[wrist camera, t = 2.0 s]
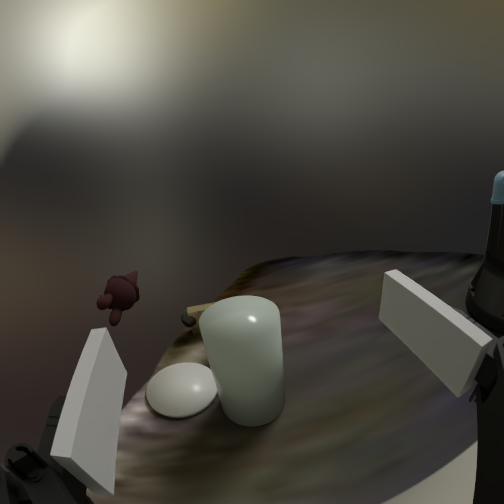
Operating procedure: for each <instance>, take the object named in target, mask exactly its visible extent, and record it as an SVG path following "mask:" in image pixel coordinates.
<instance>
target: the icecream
mask: <svg viewBox="0 0 504 504" xmlns="http://www.w3.org/2000/svg"><path fill="white" fill-rule="evenodd" d="M137 275H138V272H137V271H134V272H131V273H129V274H127V275H124V276H115V275H114V276H112V277H111V279H109V280H108V282H107V286H106V288H105V291H104V296H102V295H100V297H99V299H98V300H97V307H98V308H99V309H100V310H104V309H106V308H109V309H113V310H112V312H111V314H110V318H109V322H110V324H111V325H112V326H116V325H117V324H118V323H119V321H120V319H121V315H122V311H124V310H128V309H130V308H131V307H132V306H133V305H134V303H135V302H137V301H138V300H139V289H138V287H137Z"/></svg>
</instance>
